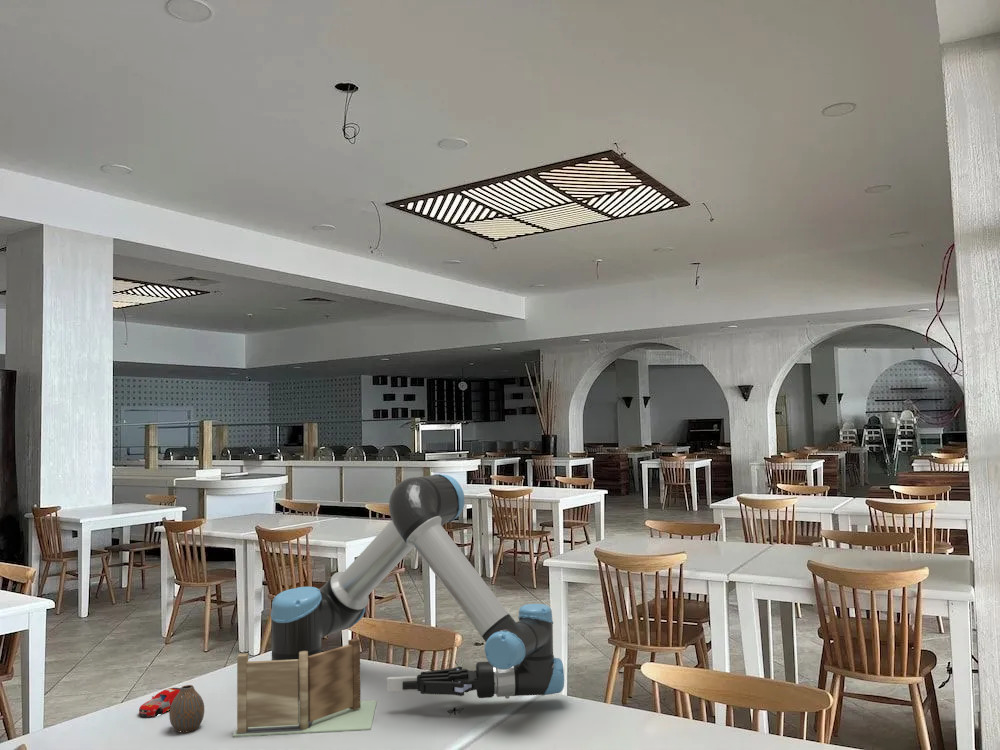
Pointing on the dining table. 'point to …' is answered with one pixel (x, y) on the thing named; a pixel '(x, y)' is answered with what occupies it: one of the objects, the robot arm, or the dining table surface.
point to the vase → (186, 709)
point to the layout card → (324, 723)
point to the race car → (159, 703)
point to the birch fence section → (272, 692)
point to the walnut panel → (334, 680)
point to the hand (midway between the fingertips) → (387, 684)
